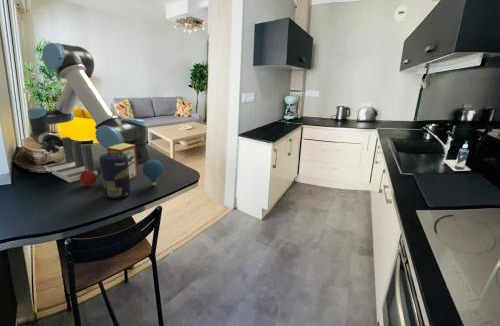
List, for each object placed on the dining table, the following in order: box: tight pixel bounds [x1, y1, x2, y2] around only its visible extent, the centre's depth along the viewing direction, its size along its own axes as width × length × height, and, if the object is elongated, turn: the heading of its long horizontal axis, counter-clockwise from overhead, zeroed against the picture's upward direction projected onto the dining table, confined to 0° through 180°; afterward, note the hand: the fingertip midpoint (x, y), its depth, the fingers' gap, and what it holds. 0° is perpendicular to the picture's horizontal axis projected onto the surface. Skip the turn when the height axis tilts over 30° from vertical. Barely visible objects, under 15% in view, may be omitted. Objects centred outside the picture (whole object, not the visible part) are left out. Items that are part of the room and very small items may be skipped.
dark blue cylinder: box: [99, 152, 131, 200], centre depth 97 cm, size 10×10×18 cm
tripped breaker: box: [61, 136, 74, 162], centre depth 123 cm, size 3×2×12 cm
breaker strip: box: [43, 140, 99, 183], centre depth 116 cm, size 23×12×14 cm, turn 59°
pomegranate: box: [79, 169, 97, 188], centre depth 104 cm, size 6×6×8 cm
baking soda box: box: [106, 143, 139, 181], centre depth 113 cm, size 10×6×16 cm
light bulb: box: [142, 158, 164, 186], centre depth 109 cm, size 8×8×12 cm
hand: (72, 149), depth 120 cm, fingers open, 8 cm apart
